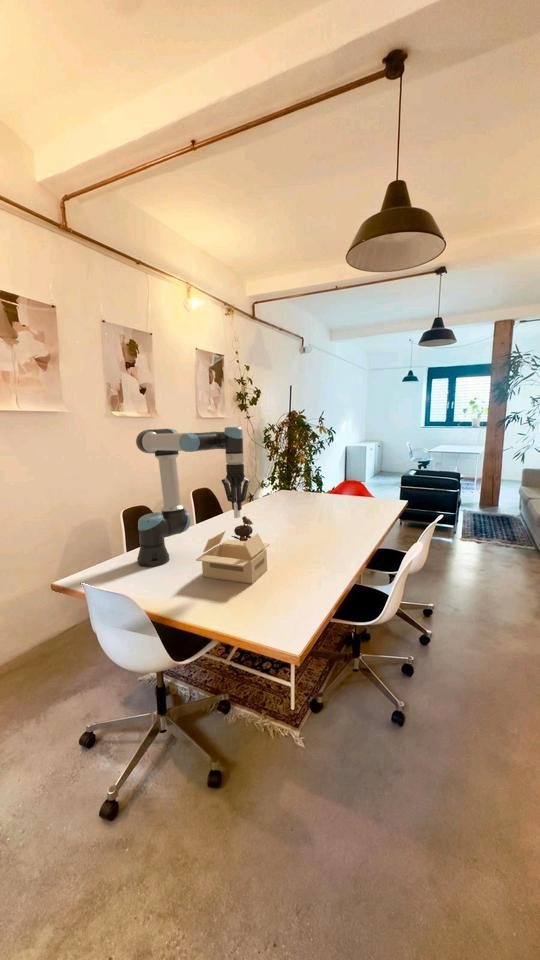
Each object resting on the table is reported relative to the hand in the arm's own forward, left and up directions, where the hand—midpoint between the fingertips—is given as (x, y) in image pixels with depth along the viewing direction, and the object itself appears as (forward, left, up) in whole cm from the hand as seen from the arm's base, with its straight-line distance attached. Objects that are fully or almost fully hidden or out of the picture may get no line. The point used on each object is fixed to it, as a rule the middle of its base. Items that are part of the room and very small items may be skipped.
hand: (237, 517), depth 165 cm
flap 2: (+10, 0, -15) cm, 18 cm away
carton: (-2, 0, -26) cm, 26 cm away
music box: (-10, +25, -26) cm, 38 cm away
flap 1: (-14, 0, -15) cm, 21 cm away
